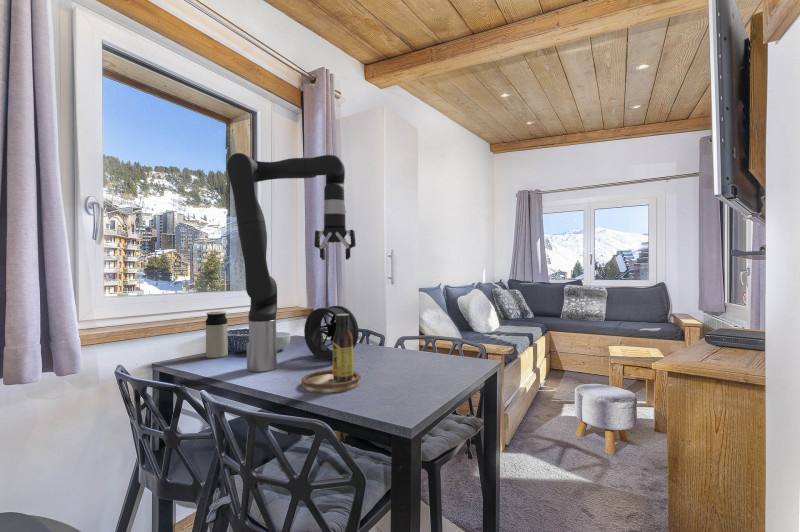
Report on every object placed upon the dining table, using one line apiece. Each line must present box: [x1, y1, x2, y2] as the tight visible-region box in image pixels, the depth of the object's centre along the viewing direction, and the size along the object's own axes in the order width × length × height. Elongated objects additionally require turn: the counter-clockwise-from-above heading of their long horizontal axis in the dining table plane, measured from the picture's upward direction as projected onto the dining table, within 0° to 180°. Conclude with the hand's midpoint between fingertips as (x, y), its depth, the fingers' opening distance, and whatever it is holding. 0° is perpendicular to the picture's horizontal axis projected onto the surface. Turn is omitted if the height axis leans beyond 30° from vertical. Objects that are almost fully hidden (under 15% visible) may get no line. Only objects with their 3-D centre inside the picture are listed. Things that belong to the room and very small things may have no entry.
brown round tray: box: [301, 369, 362, 394], centre depth 121 cm, size 17×17×2 cm
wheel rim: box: [303, 305, 360, 361], centre depth 158 cm, size 20×9×20 cm, turn 60°
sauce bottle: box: [331, 314, 355, 382], centre depth 121 cm, size 7×6×20 cm
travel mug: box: [205, 310, 229, 359], centre depth 164 cm, size 8×8×18 cm
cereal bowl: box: [276, 331, 291, 352], centre depth 173 cm, size 17×17×7 cm
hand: (335, 259), depth 142 cm, fingers open, 8 cm apart
